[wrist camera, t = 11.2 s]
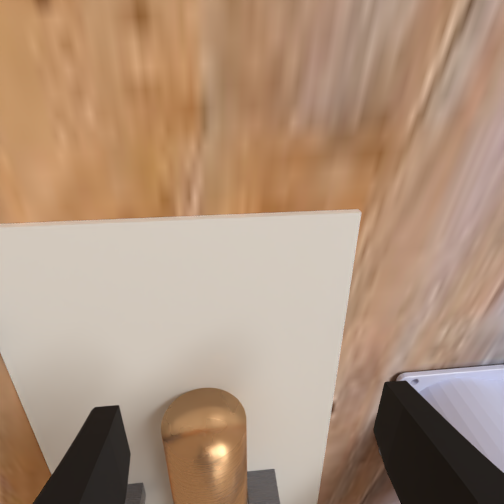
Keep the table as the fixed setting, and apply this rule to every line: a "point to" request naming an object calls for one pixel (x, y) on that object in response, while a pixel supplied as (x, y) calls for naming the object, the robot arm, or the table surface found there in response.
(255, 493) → the grey arch
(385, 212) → the table surface
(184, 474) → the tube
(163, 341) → the hearth board
